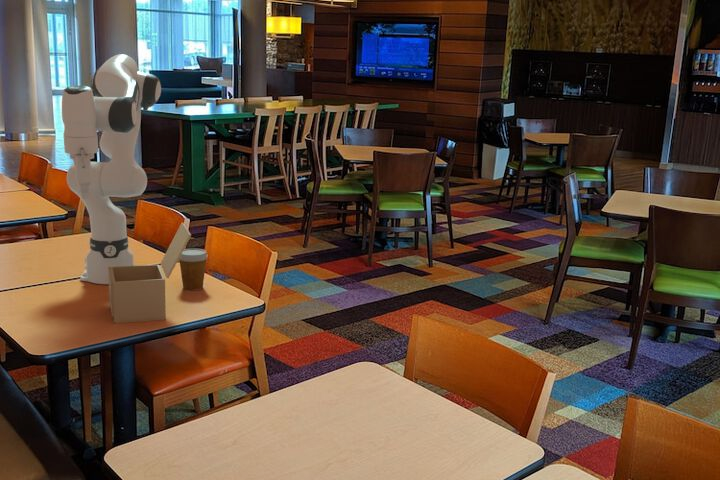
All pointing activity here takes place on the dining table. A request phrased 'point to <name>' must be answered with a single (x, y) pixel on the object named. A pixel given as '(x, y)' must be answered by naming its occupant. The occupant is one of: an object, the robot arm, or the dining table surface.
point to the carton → (137, 293)
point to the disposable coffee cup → (193, 268)
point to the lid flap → (175, 250)
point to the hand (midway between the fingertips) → (84, 195)
